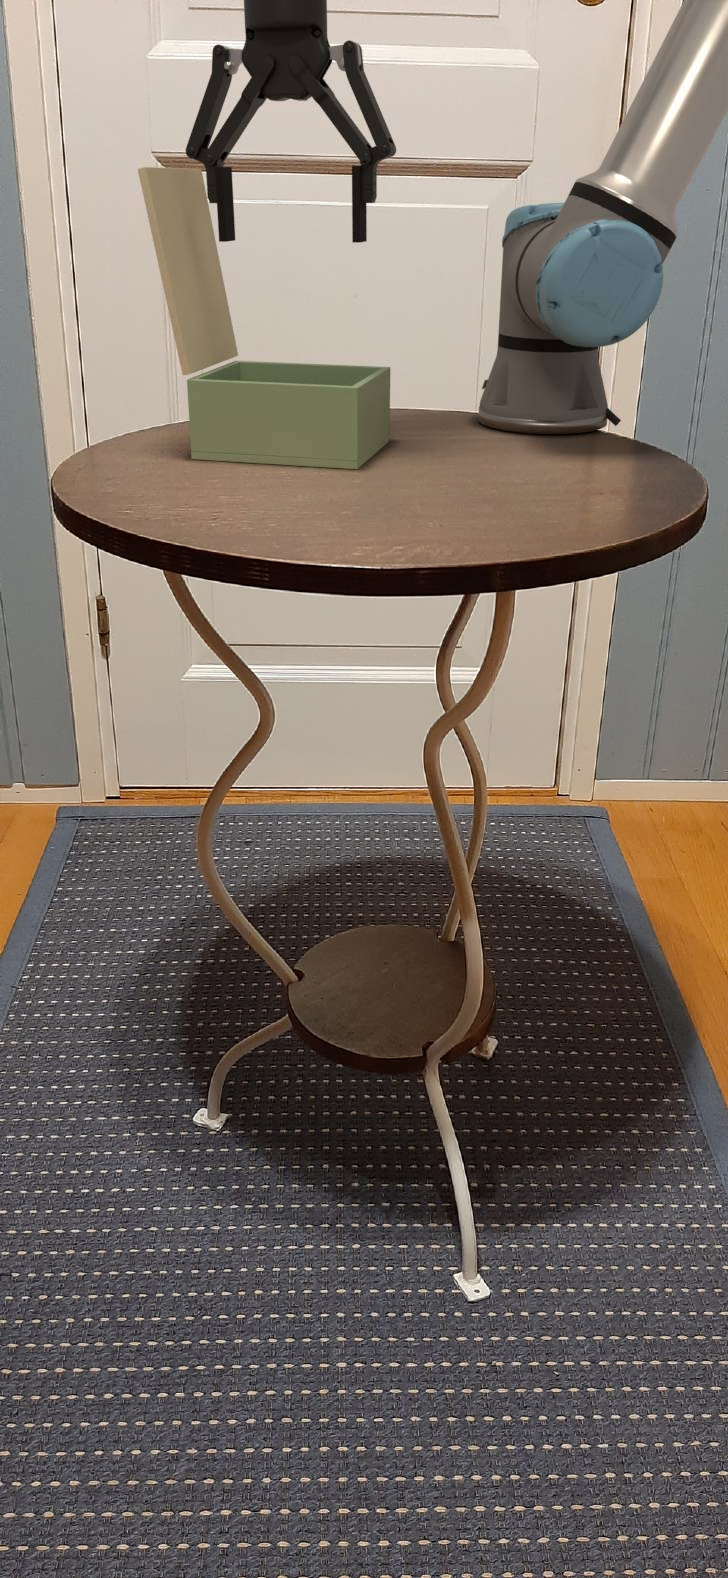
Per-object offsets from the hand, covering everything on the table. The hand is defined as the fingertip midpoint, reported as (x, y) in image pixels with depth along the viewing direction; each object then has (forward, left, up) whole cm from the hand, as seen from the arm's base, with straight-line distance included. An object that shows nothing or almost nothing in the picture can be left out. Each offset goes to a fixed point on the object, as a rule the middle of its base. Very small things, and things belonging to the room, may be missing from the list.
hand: (292, 241), depth 113 cm
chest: (0, 0, -20) cm, 20 cm away
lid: (+10, 0, -3) cm, 11 cm away
